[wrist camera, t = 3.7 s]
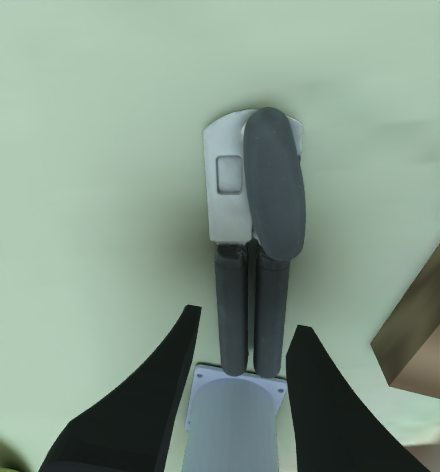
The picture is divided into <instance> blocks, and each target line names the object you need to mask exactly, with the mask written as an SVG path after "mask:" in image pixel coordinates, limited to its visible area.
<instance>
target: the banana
mask: <svg viewBox="0 0 440 472" xmlns="http://www.w3.org/2000/svg"><path fill="white" fill-rule="evenodd" d="M0 472H19V471H16V470H13V469H7V468H0Z"/></svg>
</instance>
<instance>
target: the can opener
mask: <svg viewBox="0 0 440 472" xmlns="http://www.w3.org/2000/svg"><path fill="white" fill-rule="evenodd" d="M203 141H204V159H205V174H206V189H207V203H208V219H209V237H210V240H212V241H215V243H216V244H217V248H216V252H215V259H214V260H215V274H216V291H217V308H218V323H219V340H220V354H221V366H222V369H223V371H224V372H225V373H226V374H227V375H229V376H232V377H237V376H240V375H242V374H243V373H244V372H245V371H246V368H247V362H248V355H249V352H248V248H247V244H246V243H247V242H249V241H250V240H251V239H252V237H254V238H255V239H256V240H257V241H258V245H257V250H256V293H255V325H254V353H253V364H254V369H255V371H256V373H257V374H258V375H259V376H260V377H262V378H268V379H270V378H273V377H275V376H276V375H277V374H278V373H279V371H280V368H281V355H282V345H283V332H284V321H285V310H286V299H287V289H288V277H289V265H290V260H291V259H293V258H295V257H296V256H297V255H298V254H299V253H300V252H301V250H302V247H303V243H304V237H305V222H306V213H305V193H304V184H303V178H302V173H301V167H300V160H301V159H300V158H301V157H300V154H301V153H302V142H303V127H302V125H301V123H300V122H299V121H297V120H295V119H293V118H291V117H289V116H287V115H285V114H284V113H282V112H281V111H279V110H278V109H275V108H270V107H266V108H263V109H260V110H257V109H254V108H251V109H247V110H242V111H237V112H233V113H230V114H228V115H225V116H223V117H221V118H219V119H218V120H216V121H215V122H213V123H212V124H210V125H209V126H208V127H207V128H206V129H204V130H203Z"/></svg>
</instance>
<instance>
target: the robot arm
mask: <svg viewBox="0 0 440 472" xmlns="http://www.w3.org/2000/svg"><path fill="white" fill-rule="evenodd" d="M201 309H202V307H199V306H193V305H187V306H185V308H184V310H183V312H182V314H181V316H180V317H179V319H178V321H177V322H176V324H175V325H174V327H173V328H172V329H171V331H170V332H169V333H168V335H167V336H166V337H165V339H164V340H163V341H162V342H161V344H160V345H159V346H158V347H157V348H156V350H155V351H154V352H153V353H152V354H151V355H150V356H149V357H148V358H147V360H146V361H145V362H144V363H143V364H142V365H141V366H140V367H139V368H138V369H137V370H136V371H134V372H133V373H132V374H131V375H130V376H129V377H128V378H127V379H126V380H125V381H124V382H122V383H121V384H120V385H119V386H118V387H116V388H115V389H114V390H113V391H111V392H110V393H109V394H108V395H106V396H105V397H104V398H103V399H101V400H100V401H99V402H97V403H96V404H95V405H93V406H92V407H90V408H89V409H87V410H86V411H84V412H83V413H81V414H80V415H79V416H77V417H76V418H74V419H73V420H71V421H70V422H69V423H68V424H67V426H66V427H65V428H64V430H63V431H62V432H61V434H60V435H59V436H58V438H57V439H56V441H55V442H54V444H53V445H52V447H51V449H50V450H49V452H48V454H47V456H46V458H45V460H44V462H43V463H42V465H41V467H40V469H39V471H38V472H164V469H165V464H166V459H167V454H168V450H169V445H170V440H171V435H172V431H173V426H174V421H175V417H176V414H177V410H178V407H179V403H180V400H181V397H182V393H183V390H184V387H185V383H186V380H187V377H188V373H189V370H190V367H191V363H192V359H193V354H194V349H195V344H196V339H197V333H198V327H199V321H200V315H201ZM286 379H287V381H286V380H283V379H278V378H270V379H268V378H262V377H260V376H259V375H256V374H251V373H245V372H244V373H243V374H242V375H240V376H237V377H232V376H229V375H227V374H226V373H225V372H224V371H223V369H222V368H218V367H212V366H207V365H201V364H200V365H197V366H196V367H195V372H194V377H193V383H192V389H191V395H190V400H189V406H188V412H187V417H186V423H185V429H186V430H187V431H189V432H188V438H187V443H186V449H185V455H184V461H183V466H182V472H279V463H278V449H277V434H276V420H275V417H276V415H277V413H278V410H279V408H280V405H281V403H282V401H283V398H284V396H285V393H286V391H287V389H288V393H289V400H290V406H291V413H292V419H293V426H294V432H295V441H296V454H297V470H298V472H430V471H429V470H428V469H427V468H426V467H424V466H423V465H422V464H421V463H420V462H419V461H418V460H417V459H416V458H415V457H414V456H413V455H412V454H411V453H410V452H409V451H407V450H406V449H405V448H404V447H403V446H402V445H401V444H400V443H399V442H398V441H397V440H396V439H395V438H394V437H393V436H392V435H391V434H390V433H389V431H388V430H387V429H386V428H385V427H384V426H383V425H382V424H381V423H380V422H379V421H378V420H377V419H376V418H375V416H374V415H373V414H372V413H371V412H370V411H369V409H368V408H367V407H366V406H365V405H364V403H363V402H362V401H361V400H360V399H359V397H358V396H357V395H356V394H355V392H354V391H353V390H352V388H351V387H350V386H349V384H348V383H347V381H346V380H345V379H344V377H343V376H342V374H341V373H340V371H339V370H338V368H337V367H336V365H335V364H334V362H333V361H332V359H331V358H330V356H329V355H328V353H327V351H326V350H325V348H324V347H323V345H322V343H321V342H320V340H319V338H318V337H317V335H316V333H315V332H314V330H313V329H312V327H308V326H303V325H297V328H296V331H295V333H294V336H293V339H292V341H291V344H290V347H289V349H288V352H287V354H286Z"/></svg>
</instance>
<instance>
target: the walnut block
mask: <svg viewBox="0 0 440 472" xmlns="http://www.w3.org/2000/svg"><path fill="white" fill-rule="evenodd" d="M371 347H372V349H373V351H374V354H375V356H376V358H377V360H378V363H379V365H380V367H381V369H382V372H383V374H384V376H385V379H386V381H387V383H388V385H389V387H393V388H397V389H402V390H406V391H410V392H414V393H418V394H422V395H426V396H430V397H434V398H438V399H440V244H439V246H438V247H437V248H436V250H435V251H434V253H433V254H432V256H431V257H430V259H429V260H428V261H427V263H426V264H425V266H424V267H423V269H422V270H421V271H420V273H419V274H418V276H417V277H416V279H415V280H414V282H413V283H412V284H411V286H410V287H409V289H408V290H407V292H406V293H405V295H404V296H403V297H402V299H401V300H400V302H399V303H398V305H397V306H396V308H395V309H394V310H393V312H392V313H391V315H390V316H389V318H388V319H387V320H386V322H385V323H384V325H383V326H382V328H381V329H380V331H379V332H378V333H377V335H376V336H375V338H374V339H373V341H372V342H371Z"/></svg>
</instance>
